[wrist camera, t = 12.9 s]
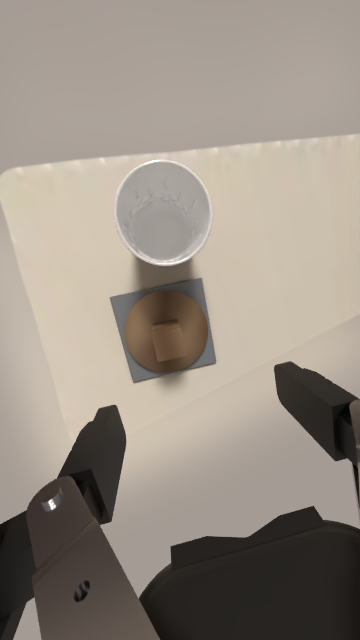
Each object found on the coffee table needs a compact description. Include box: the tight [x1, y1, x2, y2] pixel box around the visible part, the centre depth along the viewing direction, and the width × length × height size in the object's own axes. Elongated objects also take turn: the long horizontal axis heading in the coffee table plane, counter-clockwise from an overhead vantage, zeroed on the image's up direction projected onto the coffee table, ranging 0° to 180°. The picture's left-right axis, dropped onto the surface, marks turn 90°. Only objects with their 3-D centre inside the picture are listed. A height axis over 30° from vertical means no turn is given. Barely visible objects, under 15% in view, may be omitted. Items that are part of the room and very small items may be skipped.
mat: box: [110, 278, 216, 382], centre depth 29 cm, size 12×12×1 cm
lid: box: [124, 290, 208, 372], centre depth 26 cm, size 11×11×6 cm
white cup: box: [114, 160, 213, 266], centre depth 22 cm, size 8×8×10 cm
